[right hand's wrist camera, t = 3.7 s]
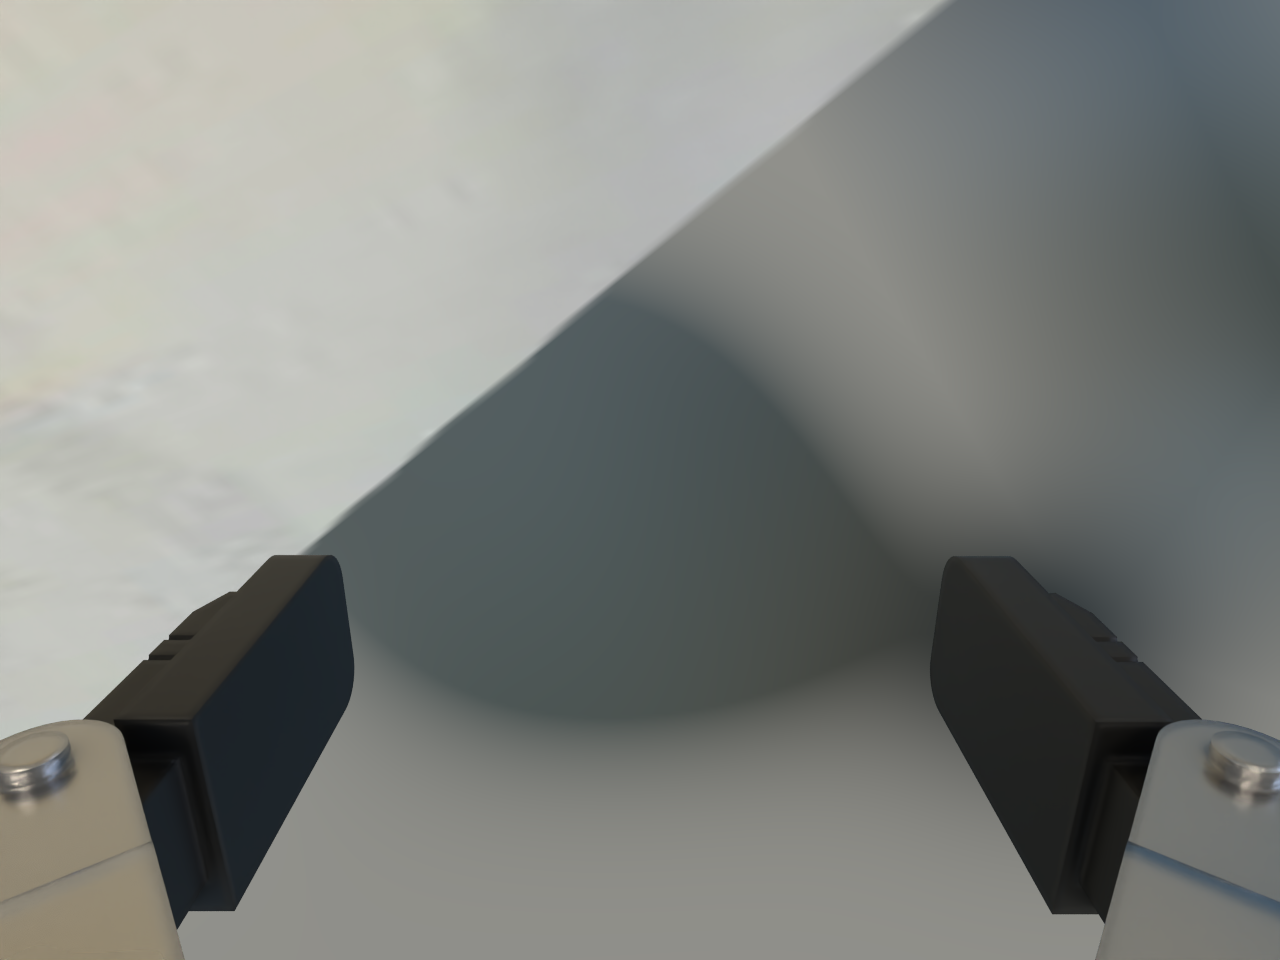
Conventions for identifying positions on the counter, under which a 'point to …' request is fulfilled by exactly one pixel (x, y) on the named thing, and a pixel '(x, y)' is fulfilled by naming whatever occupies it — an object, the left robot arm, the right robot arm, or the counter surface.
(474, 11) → the counter surface
